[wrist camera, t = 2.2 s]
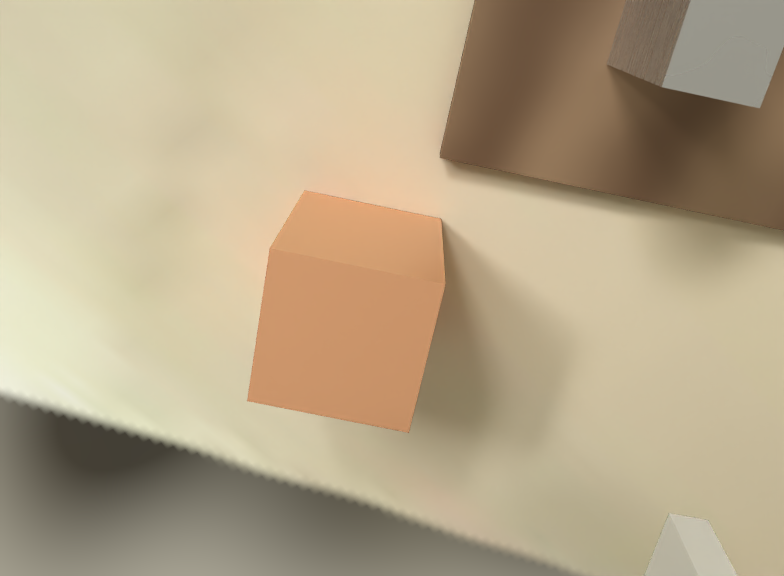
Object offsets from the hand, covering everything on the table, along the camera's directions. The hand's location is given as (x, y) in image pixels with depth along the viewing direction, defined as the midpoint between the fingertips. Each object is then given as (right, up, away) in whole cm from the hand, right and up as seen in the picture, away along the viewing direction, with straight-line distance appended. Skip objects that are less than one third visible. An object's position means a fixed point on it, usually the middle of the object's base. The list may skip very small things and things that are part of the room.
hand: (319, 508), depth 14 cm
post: (+10, +13, +11) cm, 20 cm away
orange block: (0, +5, +14) cm, 15 cm away
